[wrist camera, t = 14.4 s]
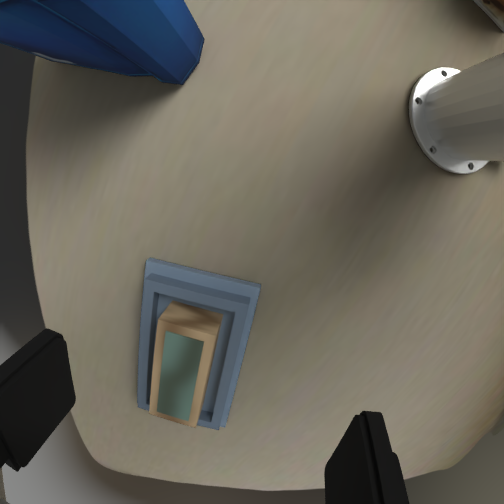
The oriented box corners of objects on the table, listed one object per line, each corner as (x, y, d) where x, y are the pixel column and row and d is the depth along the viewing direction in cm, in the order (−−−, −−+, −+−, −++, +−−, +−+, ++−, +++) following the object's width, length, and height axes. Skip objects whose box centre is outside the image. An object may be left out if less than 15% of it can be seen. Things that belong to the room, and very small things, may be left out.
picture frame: (223, 314, 35) (215, 336, 31) (203, 402, 39) (195, 428, 34) (172, 300, 36) (157, 320, 31) (160, 390, 39) (148, 414, 34)
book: (219, 39, 29) (131, -122, 5) (193, 95, 31) (44, -16, 7) (74, 17, 28) (-56, -50, 4) (53, 62, 30) (-95, 22, 6)
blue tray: (261, 284, 36) (259, 295, 32) (226, 422, 41) (223, 437, 38) (150, 257, 36) (139, 265, 33) (140, 398, 42) (132, 411, 38)
